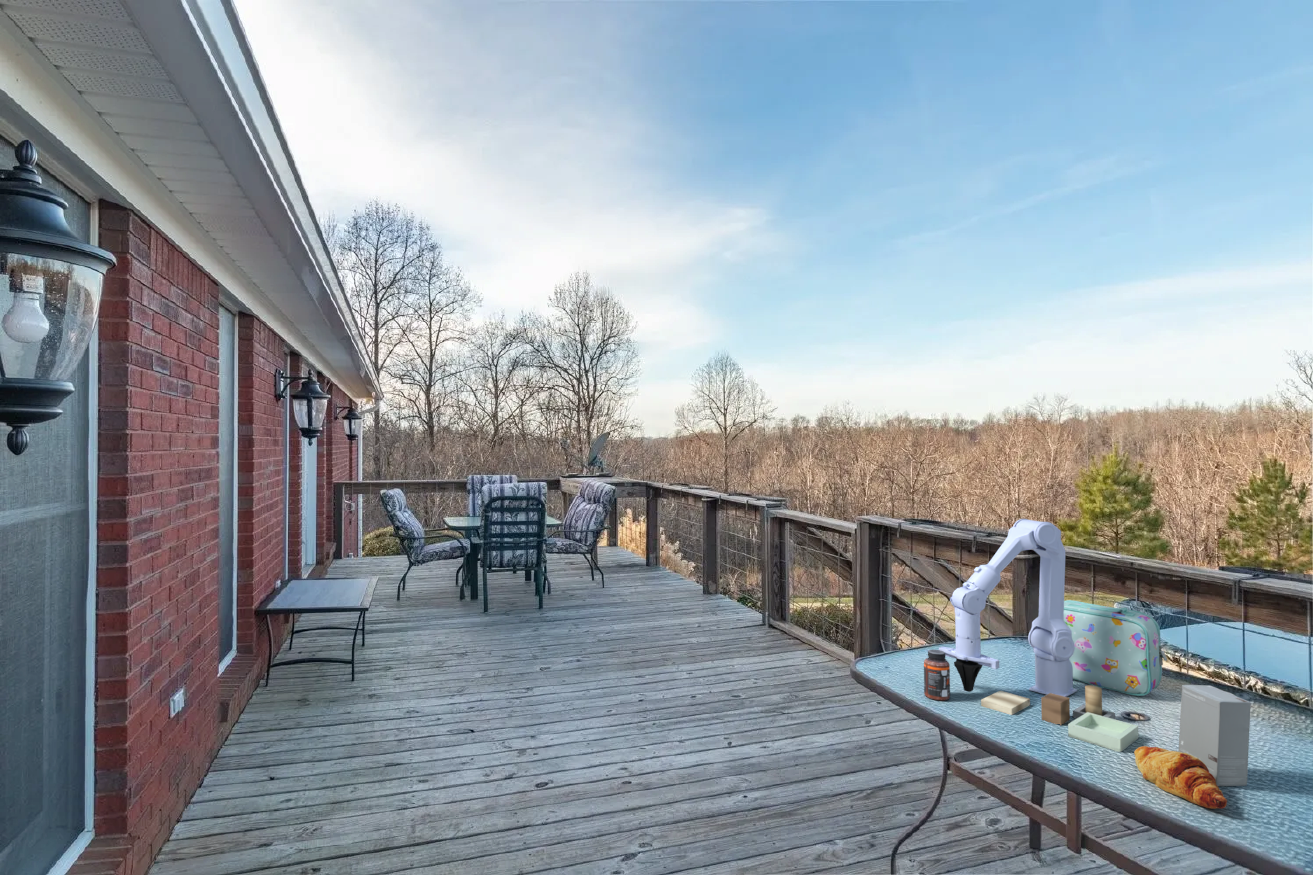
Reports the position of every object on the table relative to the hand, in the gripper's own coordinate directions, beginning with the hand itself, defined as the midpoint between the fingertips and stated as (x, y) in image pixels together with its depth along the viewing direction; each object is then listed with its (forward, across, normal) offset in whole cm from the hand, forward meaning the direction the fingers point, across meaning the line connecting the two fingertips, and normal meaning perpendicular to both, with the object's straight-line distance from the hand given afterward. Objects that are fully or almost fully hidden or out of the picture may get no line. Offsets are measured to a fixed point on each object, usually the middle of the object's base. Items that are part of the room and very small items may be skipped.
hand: (968, 690), depth 163 cm
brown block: (+1, +20, 0) cm, 20 cm away
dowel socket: (+1, +25, +8) cm, 26 cm away
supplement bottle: (+1, -4, -8) cm, 9 cm away
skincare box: (+1, +49, -5) cm, 49 cm away
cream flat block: (+2, +9, 0) cm, 9 cm away
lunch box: (+1, +18, +36) cm, 40 cm away
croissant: (+2, +46, -15) cm, 48 cm away
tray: (+1, +30, -2) cm, 30 cm away
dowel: (+1, +25, +8) cm, 26 cm away
